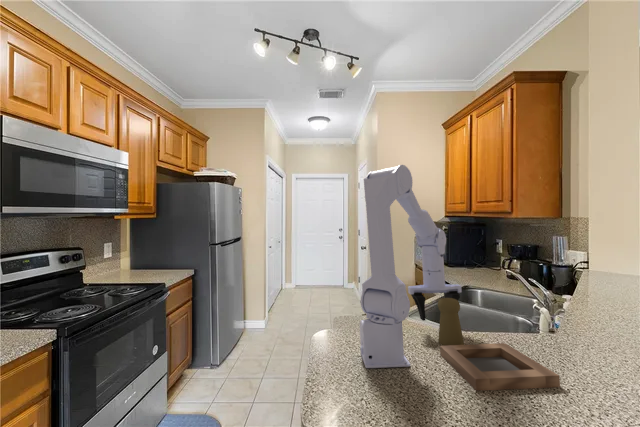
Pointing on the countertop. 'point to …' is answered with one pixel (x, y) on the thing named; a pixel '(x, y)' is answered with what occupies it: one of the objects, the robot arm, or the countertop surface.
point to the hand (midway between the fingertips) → (436, 319)
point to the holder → (497, 367)
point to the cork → (449, 322)
